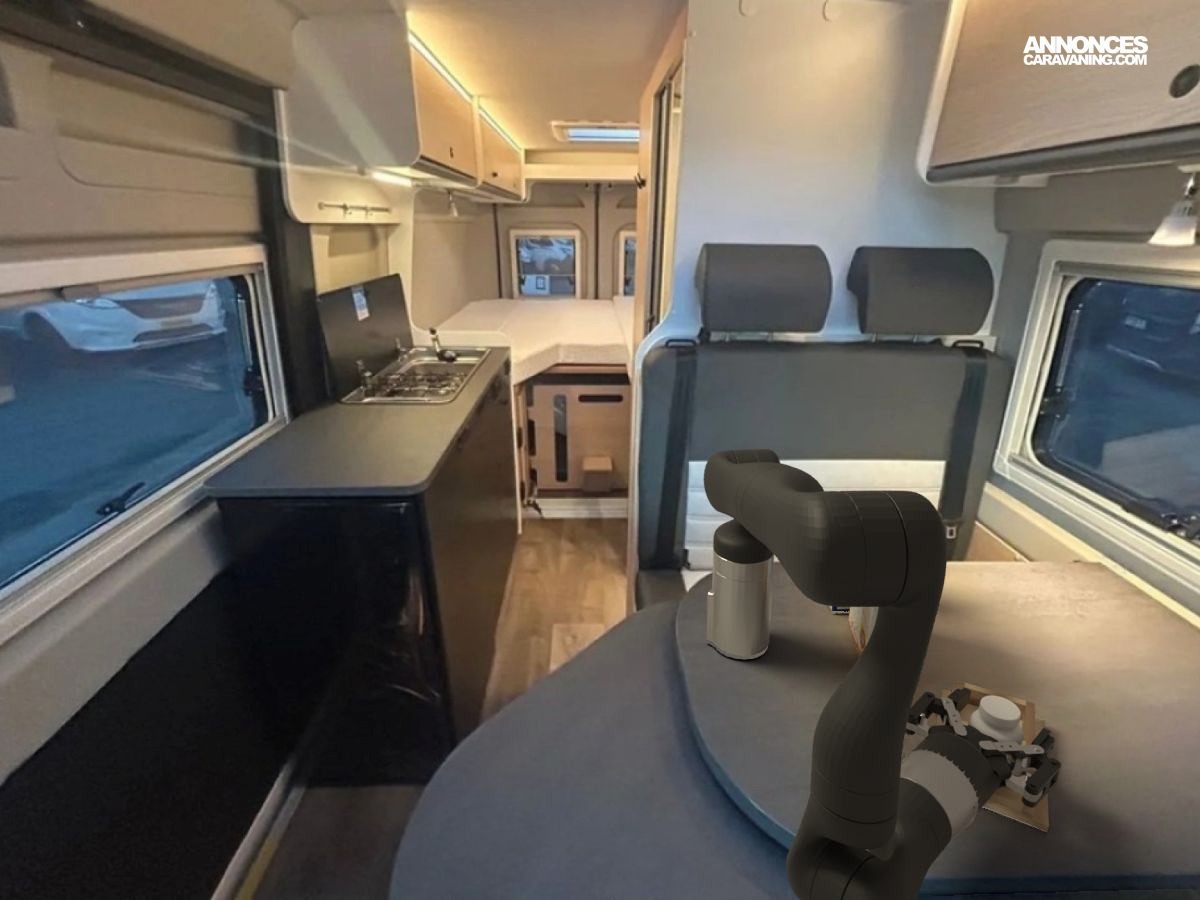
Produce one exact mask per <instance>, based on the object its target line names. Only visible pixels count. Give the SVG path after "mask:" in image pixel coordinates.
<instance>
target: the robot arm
mask: <svg viewBox="0 0 1200 900" xmlns="http://www.w3.org/2000/svg"><path fill="white" fill-rule="evenodd" d="M777 454H778V453H776V452H775V451H774V450H772V449H769V448H768V449H767V448H757V449H756V448H752V449H731V450H730V449H729V450H721V451H717V452H715V453H713V454H712V455H711V456H710V457H709V458H708V460H707V462H706V463H705V465H704V466H705V467H704V470H703V471H704V472H703V489H704V491H705V492H704V493H705V495H706V498H707V501H708V502H709V504H710V506H712V508H713V509H714V511H716V512H719V513H720V514H724V515H727V516H729V517H730V518H732V519H731V520H728V521H726V522H723V523H722V524H721V525H718V527H717V528H716V529H715V531H714V534H713V539H712V540H713V542H712V543H713V544H712V551H713V552H712V583H711V585H712V587H711V588H710V589H709V591H708V592H707V598H706V599H707V600H706V601H707V602H706V639H707V640H710V641H712V642H713V643H714V644H715V645H716V646H717V647H718V648H720V649H721V650H723V651H725V652H727V653H730V654H734V655H741V656H747V655H749V656H750V655H755V654H757V653H760V652H762V651H763V650H765V649H766V648H767V646H768V644H769V645H770V639H771V638H770V637H771V635H770V633H771V631H770V630H771V616H772V600H773V599H772V598H773V583H774V582H773V581H774V568H775V567H774V565H775V564H774V563H775V557H776V558H777V560H778V561H779V563H780V564H781V566H782V568H783V569H784V571H785V572H786V574H787V576H788V577H789V578H790V580H791V581H792V582H793V584H794V585H795V586H796V588H797V589H798V591H800V592H801V593H802V594H803V595H804V596H805V597H806V598H808V599H809V600H811V601H813V602H815V603H816V604H820V605H823V606H826V607H827V606H834V607H878V614H877V618H876V622H875V626H874V629H873V631H872V634H871V636H870V639H869V641H868V643H867V645H866V647H865V648H864V650H863V652H862V654H861V655H860V657H859V656H858V659H857V660H856V662H855V663H854V664H853V666H852V668H851V669H850V671H848V673H847V675H846V676H845V677H844V678H843V680H842V681H841V683H840V684H839V685H838V686H837V688H836V689H835V691H834V692H833V694H832V695H831V696H830V698H829V699H828V701H827V703H826V704H825V706H824V708H823V709H822V712H821V714H820V715H819V719H818V720H817V723H816V726H815V730H814V734H813V740H812V748H811V751H812V752H811V753H812V754H811V770H810V772H811V773H810V790H809V791H810V793H809V797H808V799H807V800H808V801H807V803H806V804H807V805H806V807H805V808H804V809H805V810H804V813H803V816H802V818H801V822H800V824H799V827H798V830H797V832H796V835H795V837H794V839H793V841H792V842H791V843H792V844H791V845H790V848H789V850H788V852H787V853H788V854H787V855H786V861H785V862H786V863H785V867H786V869H785V870H786V874H787V880H788V882H789V885H790V887H791V890H792V891H793V894H794V895H795V897H796V899H798V900H918V897H919V893H920V891H921V889H922V888H921V887H922V886H923V883H924V881H925V878H926V876H927V874H928V871H929V870H930V868H931V866H932V865H933V863H934V862H935V861H936V860H937V858H938V857H939V856H940V855H941V854H942V852H943V851H944V850H945V849H946V848H947V847H948V845H949V843H951V842H952V841H953V840H954V839H956V838H957V837H959V835H961V834H962V833H963V832H964V830H966V829H967V828H968V827H969V826H971V825H972V823H973V822H974V821H975V817H976V816H977V815H978V814H979V812H980V811H981V810H982V809H983V808H982V807H983V806H984V805H985V804H986V802H987V801H988V800H989V799H990V797H991V796H992V795H993V794H994V792H995V791H996V790H997V789H998V788H1002V787H1006V786H1008V787H1009V788H1011V789H1013V790H1014V791H1016V792H1017V793H1019V794H1020V795H1022V802H1023V804H1024V805H1026V806H1028V807H1031V808H1034V807H1035V806H1036V805H1037V804H1038V803H1039V802H1040V801H1041V800H1042V799H1043V798H1044V796H1045V795H1046V794H1047V793H1048V794H1049V792H1050V791H1051V790H1052V789H1054V787H1055V786H1056V784H1058V783H1057V782H1058V780H1059V776H1060V772H1061V769H1062V763H1061V762H1060V761H1059V760H1058V759H1056V758H1054V757H1049V755H1051V753H1052V752H1053V749H1054V745H1055V737H1054V736H1052V730H1050V729H1047V728H1046V727H1045V728H1043V729H1042V730H1041V732H1040V733H1039V734H1038V735H1037V736H1036V738H1035V739H1034V740H1033V741H1032V743H1031V745H1019V744H1018V743H1017V742H998V740H996V739H994V738H992V737H991V736H988V735H985V734H983V733H981V732H980V731H979V730H977V729H976V728H974V727H972V726H971V725H968V726H966V725H963V723H962V720H961V718H960V715H959V713H960V712H961V711H962V710H963V709H964V708H965V707H966V706H967V704H968V703H969V700H970V695H971V690H969V689H967V688H965V687H964V688H963V689H962V690H961V689H955V688H954V690H953V691H951V692H952V693H951V694H950V695H949V696H948V697H947V698H946V697H944V698H942V699H941V698H938V697H936V694H934V693H933V692H931V691H925V692H923V694H922V695H921V696H920V697H919V698H918V699H917V701H916V702H915V703H914V704H913V701H914V698H915V694H916V691H917V688H918V684H919V680H920V678H921V674H922V671H923V666H924V664H925V660H926V658H927V657H926V656H927V652H928V649H929V645H930V640H931V637H932V633H933V630H934V627H935V626H934V625H935V622H936V619H937V615H938V611H939V607H940V603H941V599H942V595H943V592H944V591H943V590H944V584H945V579H946V575H947V574H946V572H947V564H948V563H947V561H948V543H947V536H946V535H947V534H946V530H945V525H944V523H943V520H942V517H941V515H940V513H939V512H938V509H937V508H936V506H935V505H934V504H933V503H932V501H930V499H929V498H927V497H926V496H924V495H923V494H922V493H919V492H916V491H912V490H911V491H910V490H840V491H839V490H826V491H825V490H824V488H823V486H822V485H821V484H820V482H819V481H818V480H817V479H816V478H815V477H813V476H812V475H811V474H810V473H808V472H806V471H804V470H803V469H800V468H798V467H794V466H793V465H792V466H791V465H788V464H785V463H781V461H780V458H779V456H778V455H777ZM932 714H935V715H937V716H938V715H939V718H940V721H941V724H942V725H931V726H929V725H928V723H929V721H928V719H929V718H930V717H931V716H932ZM906 734H907V735H908V736H914V735H915V734H918V735H920V736H922V737H924V739H923V740H922V741H921V742H919V743H918V744H917V746H915V747H914V748H913V749H912V751H910V752H909V753H908V754H907V756H906V757H904V758H903V749H904V742H905V737H906ZM1007 754H1009V755H1008V759H1007V757H1006V755H1007ZM1025 757H1028V759H1024V758H1025ZM1021 771H1036V772H1035V773H1034V774H1033V775H1031V774H1030V773H1026V776H1025V775H1023V776H1021V777H1016V776H1013V775H1017V774H1019V773H1020V772H1021Z"/></svg>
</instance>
